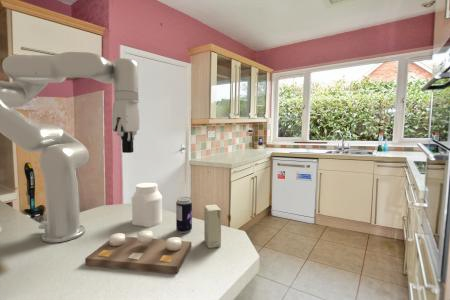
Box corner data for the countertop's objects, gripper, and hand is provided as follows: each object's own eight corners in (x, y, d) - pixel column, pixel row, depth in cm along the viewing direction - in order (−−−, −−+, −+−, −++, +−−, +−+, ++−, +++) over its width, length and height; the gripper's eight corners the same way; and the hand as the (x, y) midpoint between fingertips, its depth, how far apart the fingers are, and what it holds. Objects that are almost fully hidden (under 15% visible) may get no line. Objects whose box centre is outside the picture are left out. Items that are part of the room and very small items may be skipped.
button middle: (134, 242, 72) (134, 236, 72) (141, 236, 77) (141, 229, 76) (148, 243, 72) (148, 237, 72) (155, 237, 76) (155, 230, 76)
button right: (164, 250, 71) (164, 243, 71) (169, 242, 76) (169, 236, 75) (178, 251, 71) (178, 244, 71) (183, 243, 75) (183, 237, 75)
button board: (85, 265, 67) (85, 257, 67) (114, 241, 81) (114, 235, 81) (177, 273, 64) (177, 265, 64) (191, 247, 78) (191, 241, 78)
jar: (127, 224, 96) (126, 186, 94) (142, 215, 105) (142, 181, 103) (152, 228, 92) (152, 189, 91) (166, 219, 101) (166, 183, 100)
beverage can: (188, 234, 87) (188, 201, 86) (173, 233, 88) (173, 200, 87) (194, 228, 93) (194, 197, 92) (179, 226, 94) (179, 196, 93)
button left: (106, 245, 74) (106, 239, 73) (114, 238, 78) (114, 232, 78) (120, 246, 73) (120, 240, 73) (127, 239, 77) (127, 233, 77)
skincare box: (221, 247, 79) (221, 209, 77) (208, 248, 77) (208, 211, 76) (216, 238, 85) (216, 203, 84) (203, 239, 84) (204, 204, 82)
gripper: (127, 100, 90) (128, 150, 92) (102, 95, 75) (104, 154, 77) (147, 100, 89) (147, 150, 91) (125, 95, 74) (126, 155, 76)
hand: (127, 152), depth 84 cm, fingers closed
